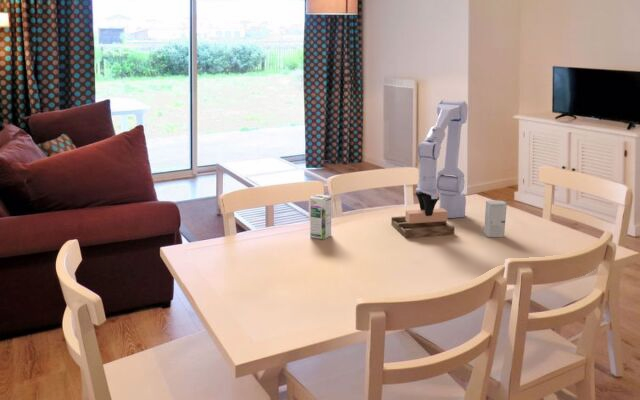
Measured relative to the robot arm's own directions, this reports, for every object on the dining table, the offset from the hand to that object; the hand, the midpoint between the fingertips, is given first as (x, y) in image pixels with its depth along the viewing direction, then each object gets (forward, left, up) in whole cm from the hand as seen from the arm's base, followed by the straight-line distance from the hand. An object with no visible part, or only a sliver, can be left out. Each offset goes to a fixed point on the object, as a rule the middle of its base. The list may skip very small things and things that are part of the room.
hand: (426, 213), depth 230 cm
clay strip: (0, 0, -2) cm, 2 cm away
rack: (0, -4, -7) cm, 8 cm away
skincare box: (-22, +8, -7) cm, 25 cm away
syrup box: (+37, -5, -7) cm, 38 cm away
